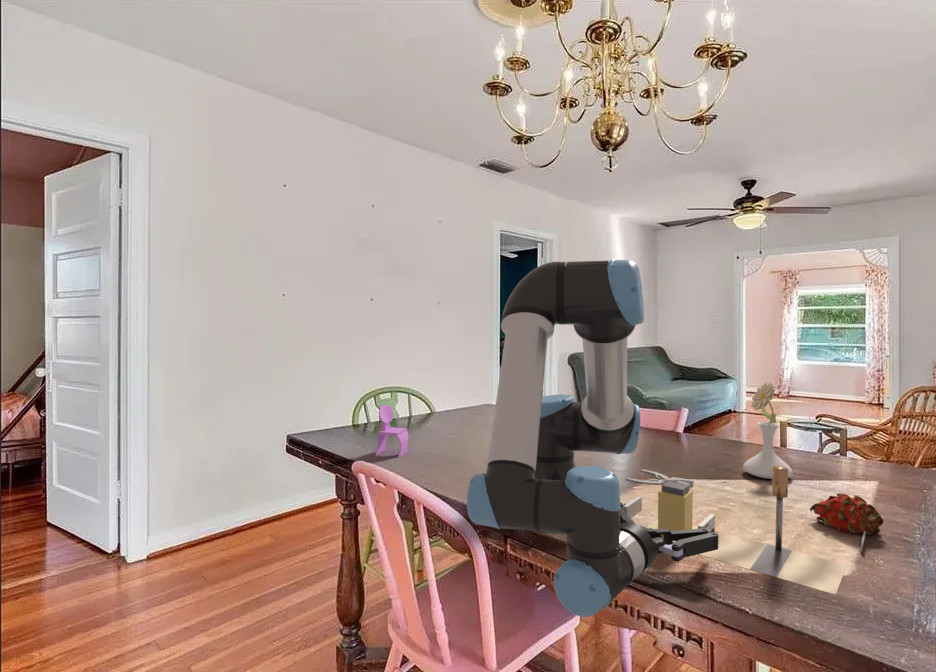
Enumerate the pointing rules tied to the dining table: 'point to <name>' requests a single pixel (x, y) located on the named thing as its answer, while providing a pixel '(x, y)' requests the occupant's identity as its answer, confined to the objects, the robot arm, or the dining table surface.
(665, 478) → the pliers
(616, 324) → the robot arm
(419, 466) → the dining table surface
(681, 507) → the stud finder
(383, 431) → the toy chair
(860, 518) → the dragon fruit
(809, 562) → the plank
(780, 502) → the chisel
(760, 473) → the flower in vase
